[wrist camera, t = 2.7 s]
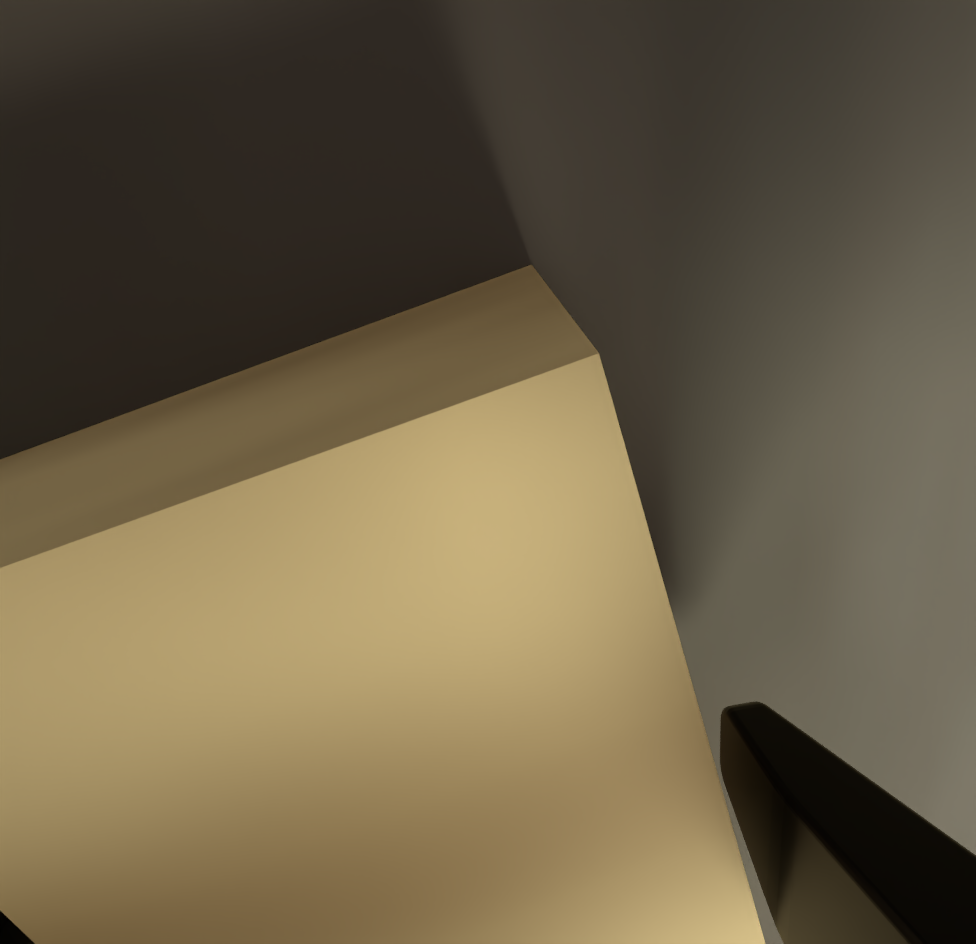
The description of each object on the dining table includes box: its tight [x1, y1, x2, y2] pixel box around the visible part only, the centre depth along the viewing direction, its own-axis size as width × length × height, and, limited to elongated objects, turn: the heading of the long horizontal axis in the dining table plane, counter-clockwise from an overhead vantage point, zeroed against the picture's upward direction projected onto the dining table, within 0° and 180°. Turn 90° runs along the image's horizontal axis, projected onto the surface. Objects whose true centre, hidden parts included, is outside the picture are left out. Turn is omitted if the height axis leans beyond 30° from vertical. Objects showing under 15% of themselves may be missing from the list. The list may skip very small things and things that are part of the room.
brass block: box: [0, 265, 765, 944], centre depth 8 cm, size 9×6×3 cm, turn 18°
